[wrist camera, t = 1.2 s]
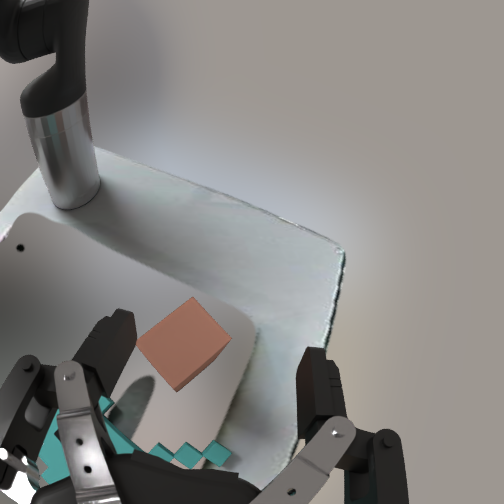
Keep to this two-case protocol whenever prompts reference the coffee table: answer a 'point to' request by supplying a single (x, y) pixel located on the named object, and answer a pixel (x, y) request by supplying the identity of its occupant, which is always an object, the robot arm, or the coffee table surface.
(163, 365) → the block
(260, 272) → the coffee table surface
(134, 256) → the coffee table surface
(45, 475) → the alien figure
